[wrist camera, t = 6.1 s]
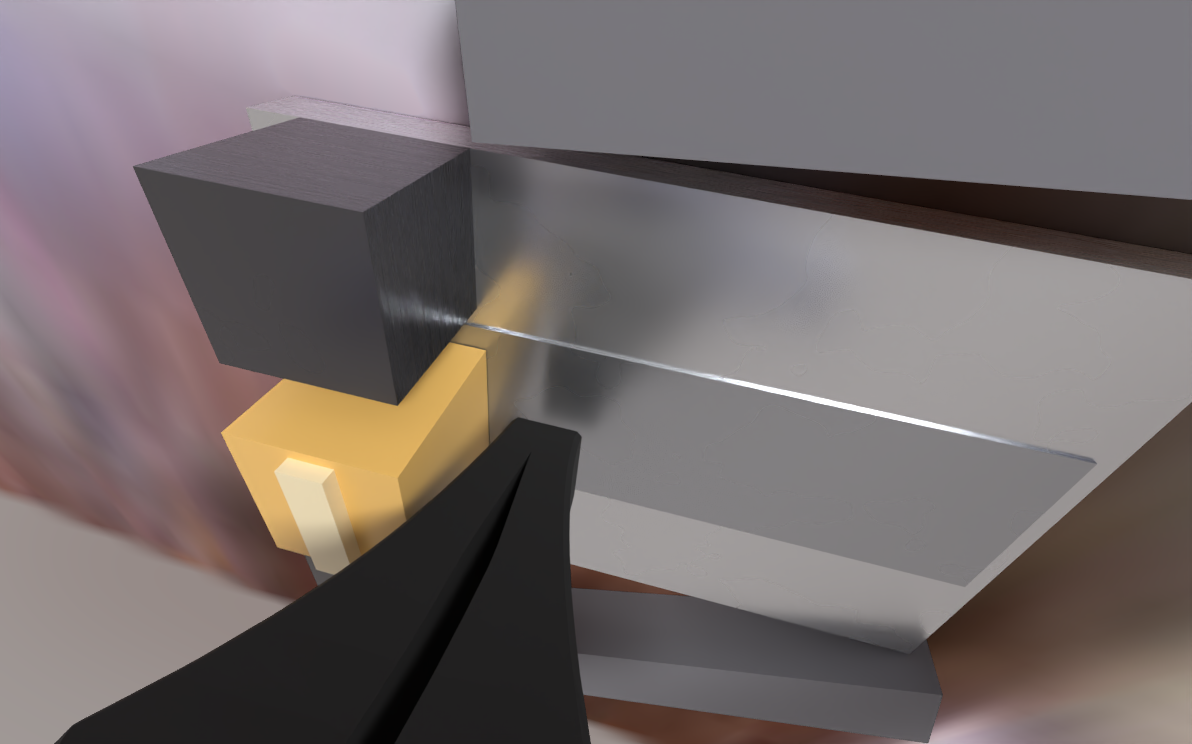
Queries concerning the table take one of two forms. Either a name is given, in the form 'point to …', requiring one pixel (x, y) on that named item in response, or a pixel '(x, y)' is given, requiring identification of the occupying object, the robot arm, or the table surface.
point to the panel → (700, 348)
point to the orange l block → (359, 456)
